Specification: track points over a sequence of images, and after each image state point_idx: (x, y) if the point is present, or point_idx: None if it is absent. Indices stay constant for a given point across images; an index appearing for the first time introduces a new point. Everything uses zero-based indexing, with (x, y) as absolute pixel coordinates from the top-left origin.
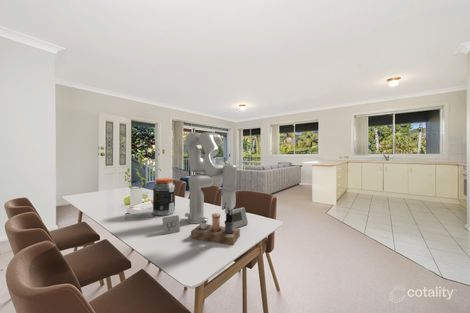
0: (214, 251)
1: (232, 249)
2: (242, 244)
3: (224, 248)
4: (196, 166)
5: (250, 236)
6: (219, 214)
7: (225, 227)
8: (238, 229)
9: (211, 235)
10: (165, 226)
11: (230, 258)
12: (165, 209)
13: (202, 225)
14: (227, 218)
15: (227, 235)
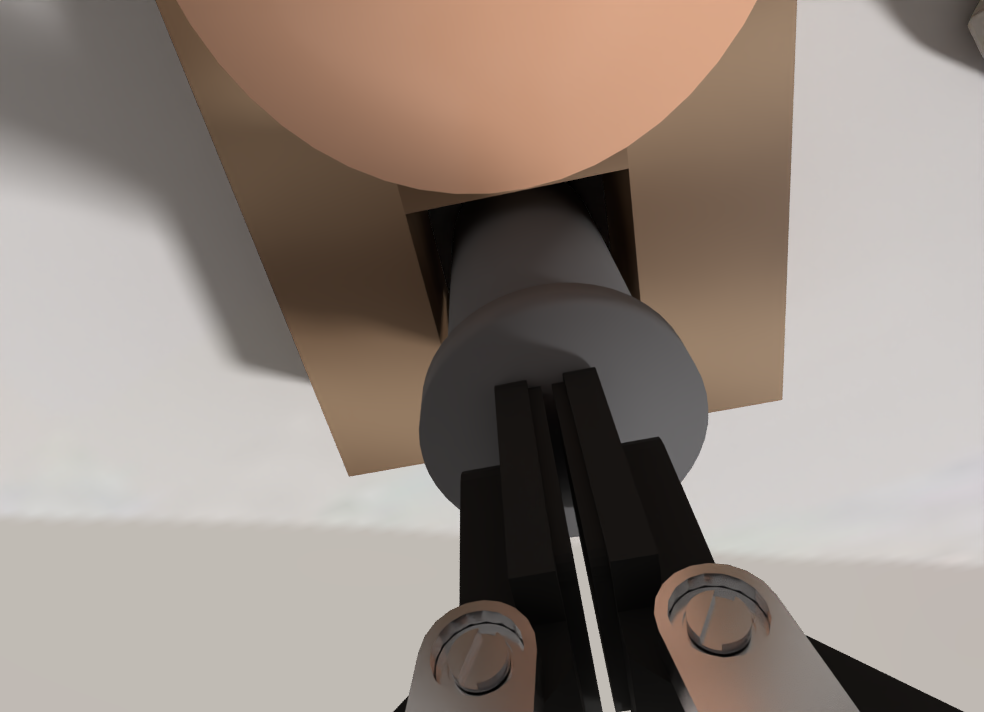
0: (26, 266)
1: (270, 436)
2: None
3: (213, 339)
4: None
5: (774, 458)
6: (631, 62)
7: (462, 303)
8: (742, 392)
9: (167, 2)
10: None
11: (81, 510)
12: None
13: None
14: (464, 540)
15: (361, 359)
